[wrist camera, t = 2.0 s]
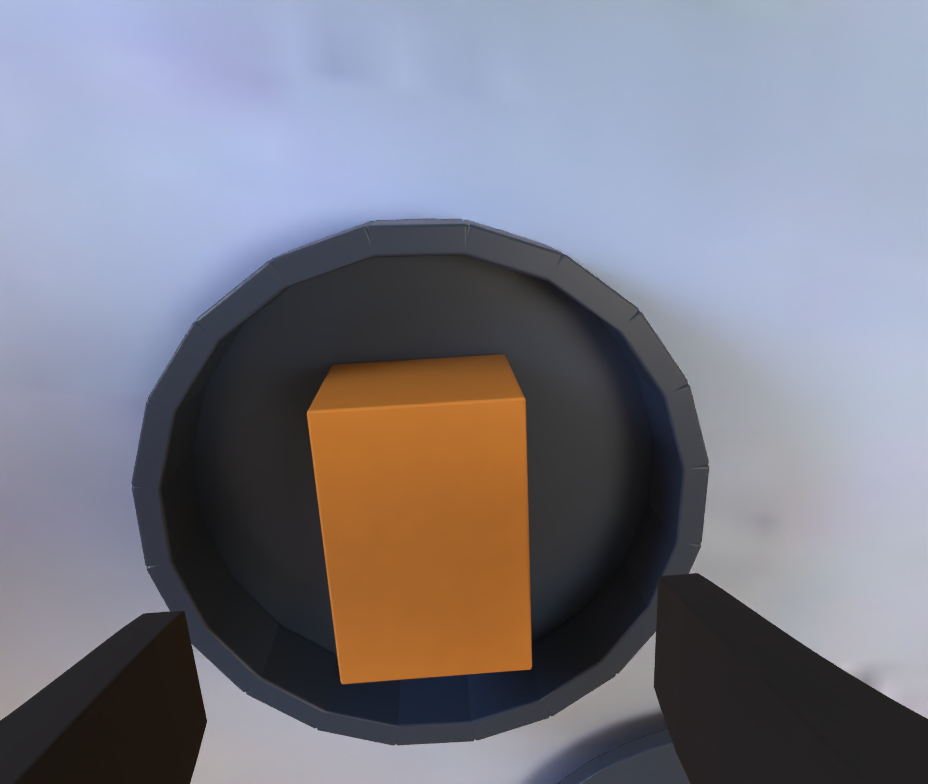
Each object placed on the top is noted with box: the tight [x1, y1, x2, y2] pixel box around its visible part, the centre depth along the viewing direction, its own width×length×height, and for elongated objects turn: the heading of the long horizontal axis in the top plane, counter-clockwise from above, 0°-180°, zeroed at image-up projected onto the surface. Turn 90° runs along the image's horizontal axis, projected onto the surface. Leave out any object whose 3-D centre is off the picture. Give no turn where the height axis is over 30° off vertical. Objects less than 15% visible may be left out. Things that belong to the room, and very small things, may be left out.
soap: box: [307, 354, 532, 684], centre depth 15 cm, size 6×4×3 cm, turn 3°
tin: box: [132, 219, 709, 745], centre depth 16 cm, size 12×12×2 cm
